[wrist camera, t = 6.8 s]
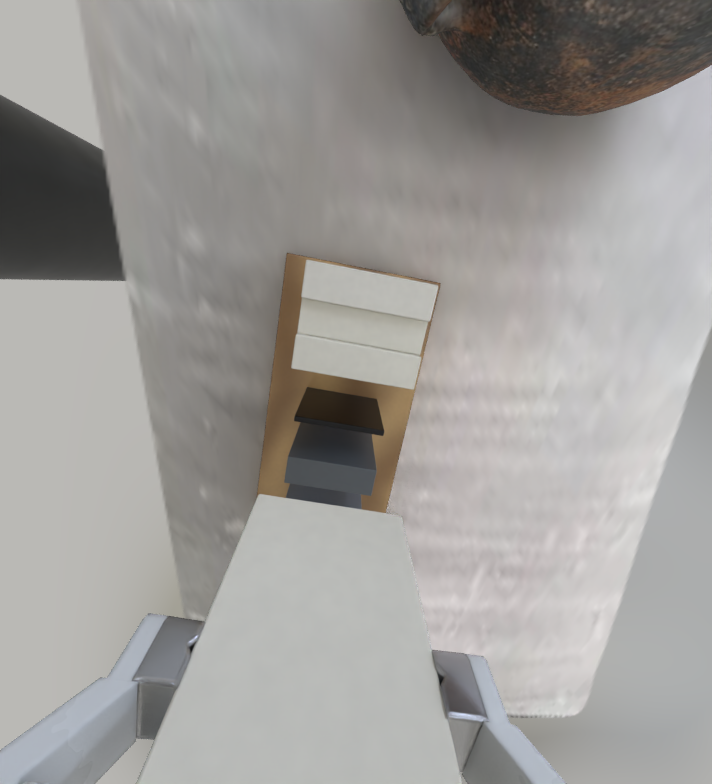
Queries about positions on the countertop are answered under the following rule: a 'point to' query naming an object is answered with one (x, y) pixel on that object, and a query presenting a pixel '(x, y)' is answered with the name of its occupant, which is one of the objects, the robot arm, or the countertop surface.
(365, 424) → the thin black tile
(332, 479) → the grey books
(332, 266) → the cream books
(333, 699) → the thin cream book
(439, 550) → the countertop surface
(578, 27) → the jug
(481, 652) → the countertop surface
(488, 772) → the robot arm
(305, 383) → the book board
